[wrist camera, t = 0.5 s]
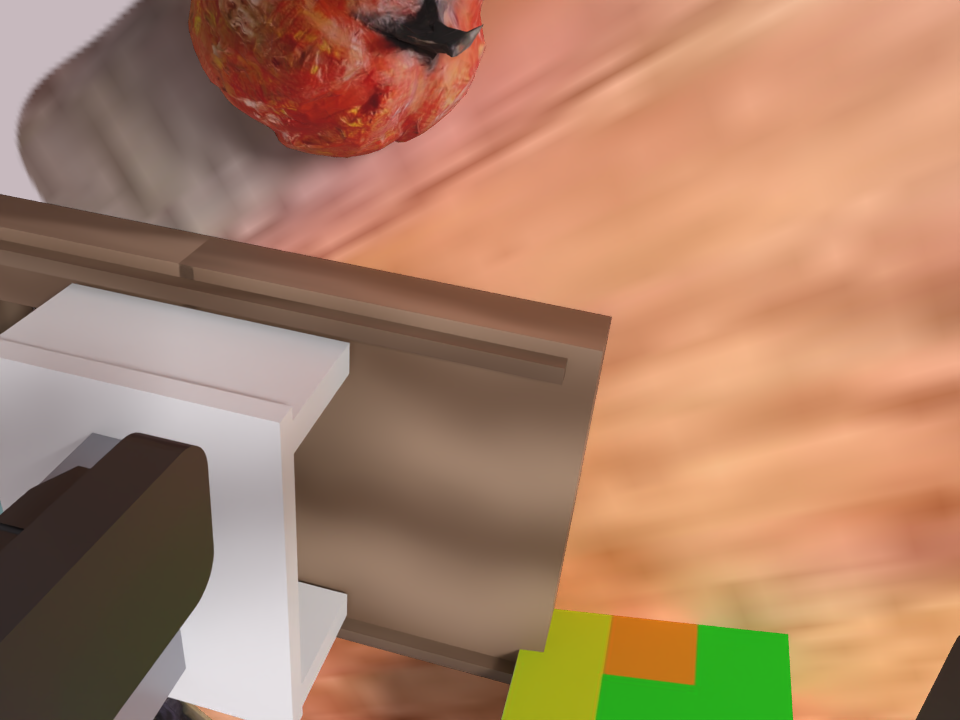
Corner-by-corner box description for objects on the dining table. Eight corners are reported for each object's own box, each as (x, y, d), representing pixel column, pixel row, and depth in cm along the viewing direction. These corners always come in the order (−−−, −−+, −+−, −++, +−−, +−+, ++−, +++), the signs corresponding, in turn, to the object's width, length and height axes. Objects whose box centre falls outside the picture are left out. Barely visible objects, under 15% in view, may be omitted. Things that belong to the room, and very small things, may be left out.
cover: (70, 270, 30) (-159, 427, 22) (349, 329, 28) (206, 520, 21) (124, 563, 38) (-32, 754, 30) (346, 623, 36) (241, 841, 28)
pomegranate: (329, 87, 29) (519, 229, 23) (102, 62, 24) (274, 234, 19) (386, -161, 26) (627, -65, 20) (135, -250, 21) (360, -156, 15)
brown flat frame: (-65, 181, 32) (-127, 209, 30) (611, 316, 28) (600, 362, 26) (20, 505, 41) (-22, 547, 39) (546, 643, 37) (534, 699, 35)
